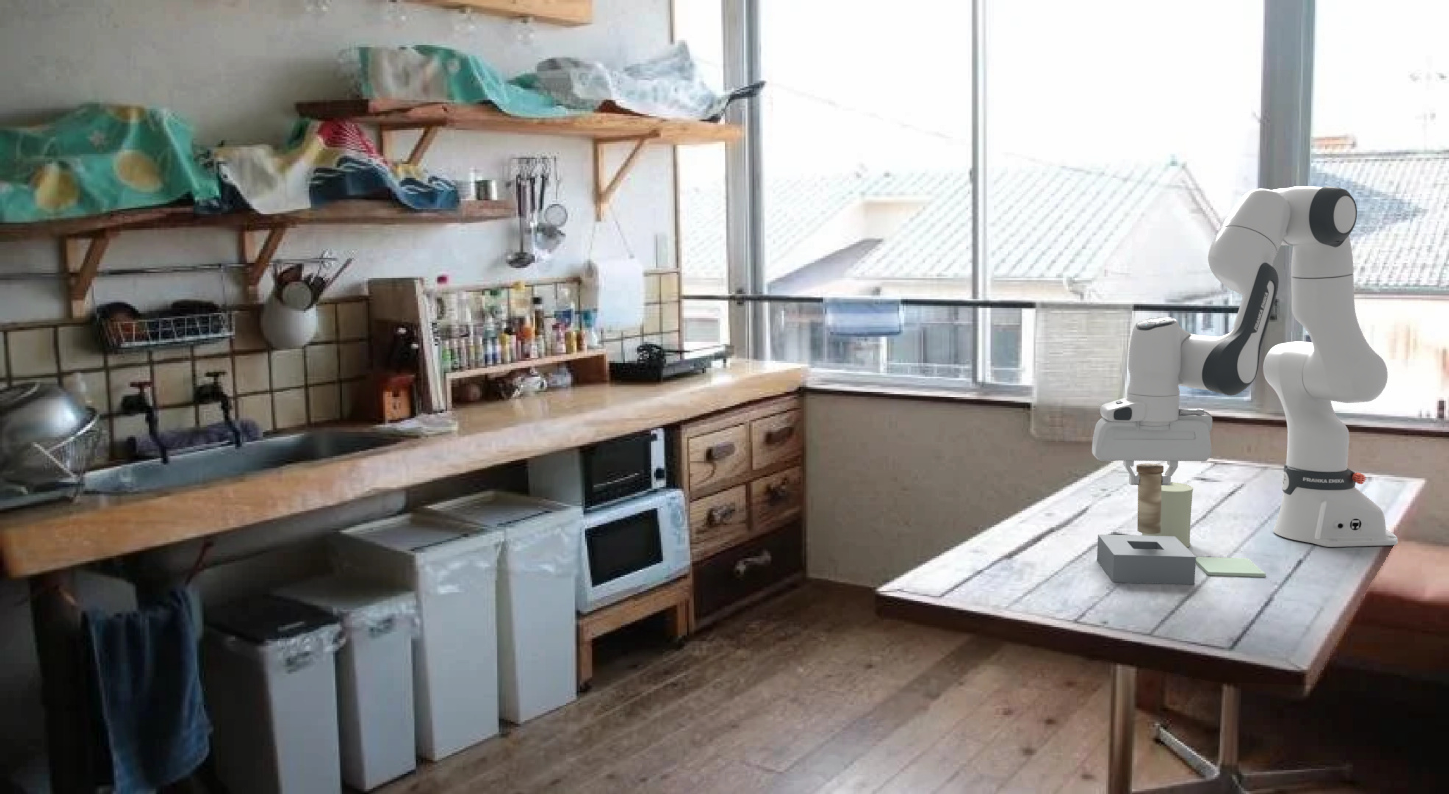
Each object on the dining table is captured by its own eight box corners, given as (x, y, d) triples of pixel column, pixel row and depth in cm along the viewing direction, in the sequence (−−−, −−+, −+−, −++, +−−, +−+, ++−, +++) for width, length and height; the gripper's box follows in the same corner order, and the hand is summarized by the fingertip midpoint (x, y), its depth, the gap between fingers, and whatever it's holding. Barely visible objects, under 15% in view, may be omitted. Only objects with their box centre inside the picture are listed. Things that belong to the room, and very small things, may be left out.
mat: (1247, 561, 229) (1247, 558, 229) (1265, 576, 219) (1265, 573, 219) (1192, 560, 230) (1192, 556, 230) (1208, 575, 220) (1208, 572, 220)
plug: (1158, 527, 223) (1159, 463, 221) (1165, 534, 219) (1166, 468, 217) (1132, 527, 224) (1133, 463, 222) (1139, 534, 219) (1140, 469, 217)
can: (1189, 539, 245) (1192, 480, 243) (1191, 551, 236) (1194, 490, 234) (1141, 535, 248) (1143, 477, 246) (1140, 547, 239) (1143, 487, 237)
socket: (1173, 562, 228) (1174, 536, 228) (1194, 584, 215) (1196, 556, 214) (1096, 560, 230) (1098, 534, 229) (1112, 582, 216) (1114, 554, 215)
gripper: (1207, 406, 220) (1204, 481, 222) (1091, 405, 222) (1088, 480, 224) (1218, 411, 214) (1214, 489, 216) (1098, 411, 216) (1095, 488, 218)
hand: (1149, 484), depth 220 cm, fingers closed on plug, 4 cm apart
